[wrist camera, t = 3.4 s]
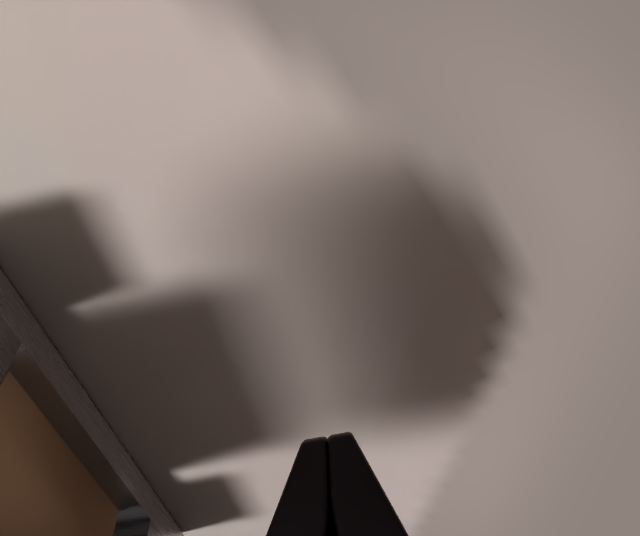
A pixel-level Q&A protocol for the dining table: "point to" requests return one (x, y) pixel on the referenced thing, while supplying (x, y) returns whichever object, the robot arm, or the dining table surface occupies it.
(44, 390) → the rail bed
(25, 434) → the tan wooden brick
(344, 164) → the dining table surface
